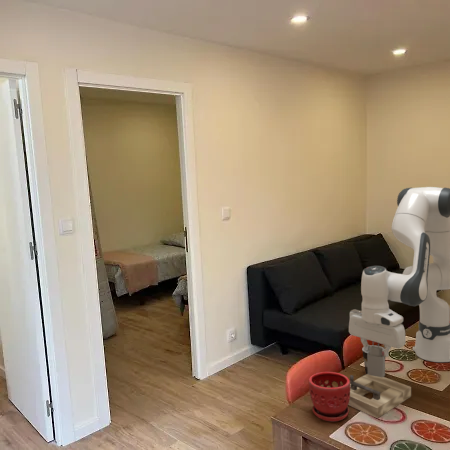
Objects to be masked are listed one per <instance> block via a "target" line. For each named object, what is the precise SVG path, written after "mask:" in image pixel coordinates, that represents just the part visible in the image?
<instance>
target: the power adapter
mask: <svg viewBox="0 0 450 450" xmlns="http://www.w3.org/2000/svg"><path fill="white" fill-rule="evenodd" d="M374 344H375V342H372V345H373V346H369V352H368V354H367V363H368V375H372V376H377V377H385V376H386V357H384V356H382V348H381V347H382V346H380V343H377V345H374ZM376 346H378V347H376ZM379 346H380V347H379Z"/></svg>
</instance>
